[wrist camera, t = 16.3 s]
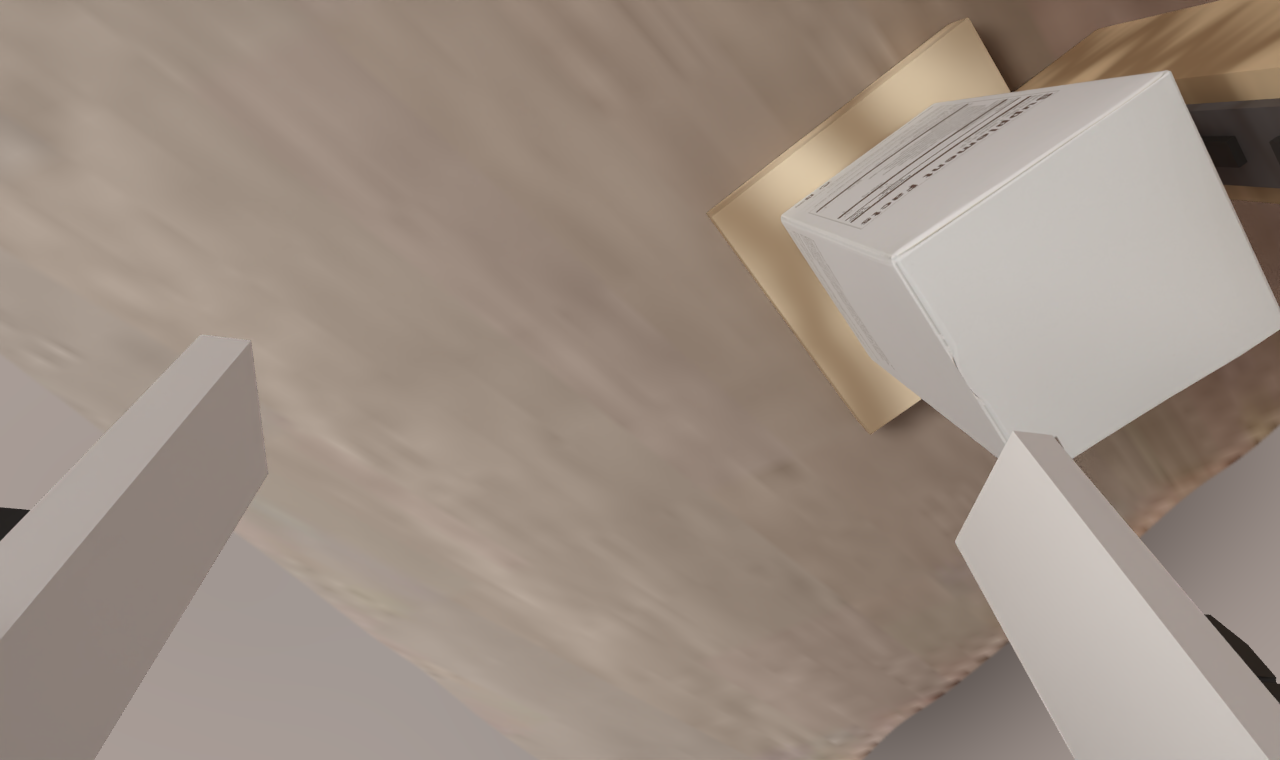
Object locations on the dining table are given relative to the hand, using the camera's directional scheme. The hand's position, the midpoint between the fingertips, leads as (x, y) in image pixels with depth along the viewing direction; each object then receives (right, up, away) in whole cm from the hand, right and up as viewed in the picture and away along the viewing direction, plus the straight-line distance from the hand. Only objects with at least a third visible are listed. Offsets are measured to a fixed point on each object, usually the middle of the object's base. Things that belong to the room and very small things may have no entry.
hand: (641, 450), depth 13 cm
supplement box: (+13, +8, +23) cm, 27 cm away
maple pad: (+13, +8, +24) cm, 29 cm away
